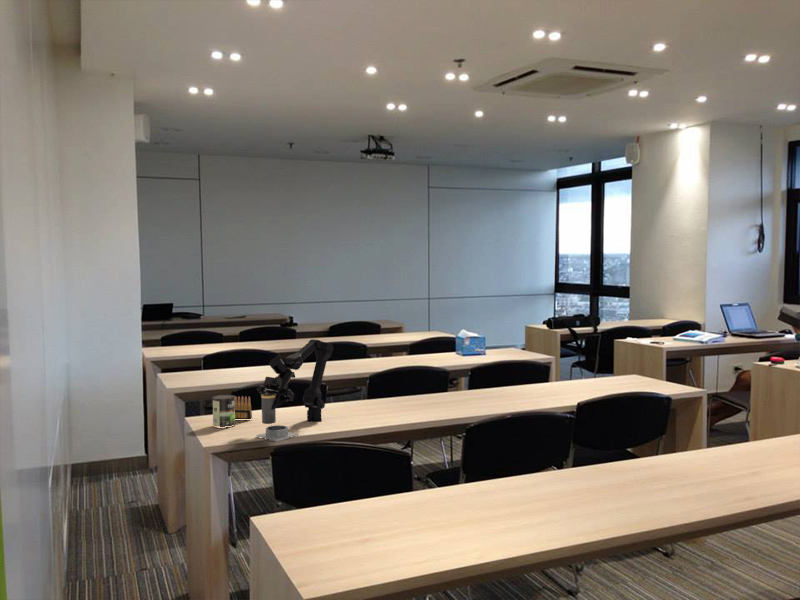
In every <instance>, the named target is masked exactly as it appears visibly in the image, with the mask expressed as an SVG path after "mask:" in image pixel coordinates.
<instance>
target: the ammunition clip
mask: <svg viewBox="0 0 800 600" xmlns="http://www.w3.org/2000/svg"><path fill="white" fill-rule="evenodd" d="M234 396H235V419H251V418H252V419H253V415H252V414H253V412H252V404H251V401H252V400H251V397H250V396H248V398H247V396H245V397H244V396H243V395H242V396H241V397H240V396H236V395H234Z"/></svg>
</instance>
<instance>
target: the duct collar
mask: <svg viewBox="0 0 800 600" xmlns="http://www.w3.org/2000/svg"><path fill="white" fill-rule="evenodd" d="M295 435H298V433H296V432H291V431H289V427H288V425H279V424H278V425H277V424H276V425H270V426H266V427H265V432H263V433H260V434H257V435H255V437H256V436H257V437H262V438H266V439H269V440H268V441H272V442H275V443H277V442H281V441H284V440H287V439H290V438H289V437H291V436H294V437H296V436H295ZM298 436H299V435H298ZM257 437H256V438H257ZM262 438H261V439H262ZM291 438H292V437H291ZM266 439H265V440H266Z"/></svg>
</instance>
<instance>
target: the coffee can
mask: <svg viewBox="0 0 800 600" xmlns="http://www.w3.org/2000/svg"><path fill="white" fill-rule="evenodd" d="M235 396H236V395H232V394H217V395H214V396H212V398H211V399H212V426H213V425H214V426H220V427H225V426H232V425H234V424H235V425H236V420H235Z"/></svg>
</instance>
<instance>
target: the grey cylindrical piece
mask: <svg viewBox="0 0 800 600" xmlns="http://www.w3.org/2000/svg"><path fill="white" fill-rule="evenodd" d="M260 396H261V397H260V398H261V401H262V408H261V423H262V424H264V425H270V424H271V425H272V424H275V423H276V421H277V420H276V419H277V418H276V414H277V413H276V408H275V409H273V410H272V409H271V408H272V405H273V403H274V401H275V399H276V397H277V395H276V394H273V393H267V394H262V395H261V394H260Z"/></svg>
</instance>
